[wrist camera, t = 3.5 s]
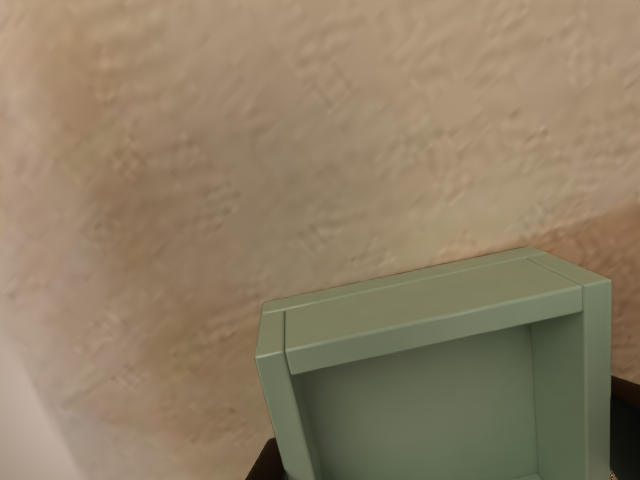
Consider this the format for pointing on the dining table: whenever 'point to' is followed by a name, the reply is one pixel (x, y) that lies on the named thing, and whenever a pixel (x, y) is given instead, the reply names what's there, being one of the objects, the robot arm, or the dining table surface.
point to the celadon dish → (444, 373)
